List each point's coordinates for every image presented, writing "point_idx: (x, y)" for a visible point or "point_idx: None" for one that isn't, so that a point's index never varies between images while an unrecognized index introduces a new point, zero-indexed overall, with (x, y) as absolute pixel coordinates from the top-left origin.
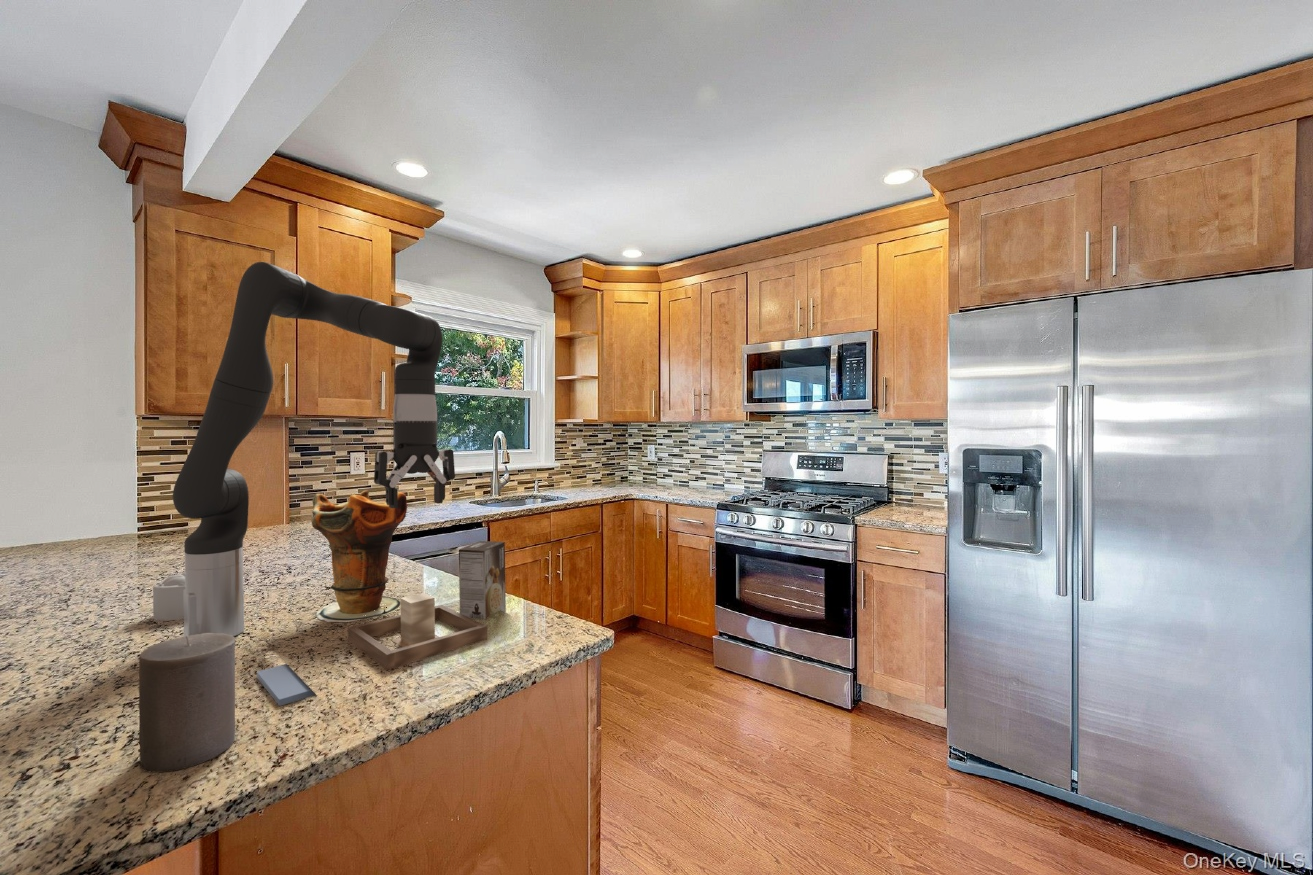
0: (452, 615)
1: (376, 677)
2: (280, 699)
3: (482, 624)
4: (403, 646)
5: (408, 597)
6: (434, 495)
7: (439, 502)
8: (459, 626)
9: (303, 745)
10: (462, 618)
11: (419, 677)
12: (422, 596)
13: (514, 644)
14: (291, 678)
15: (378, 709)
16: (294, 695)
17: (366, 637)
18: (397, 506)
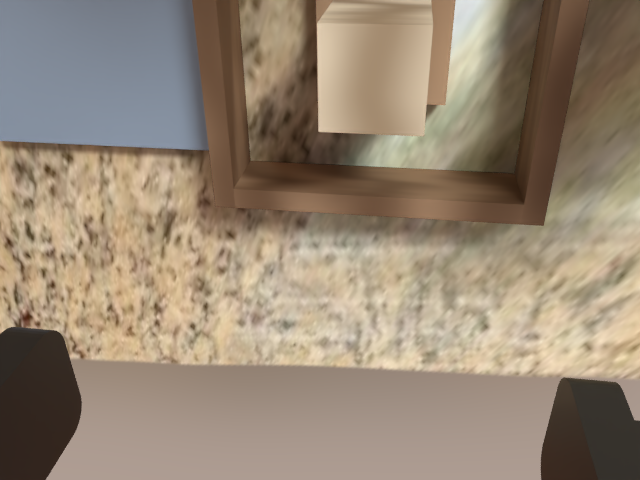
0: (558, 3)
1: None
2: (2, 139)
3: (545, 201)
4: None
5: (347, 42)
6: (582, 450)
7: (546, 471)
8: (542, 58)
9: (53, 311)
10: (545, 92)
11: (295, 227)
12: (398, 77)
13: (596, 234)
14: (18, 30)
15: (178, 293)
16: (29, 141)
17: (203, 17)
18: (76, 425)
